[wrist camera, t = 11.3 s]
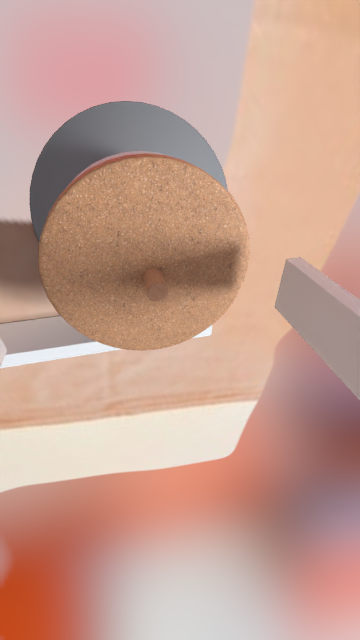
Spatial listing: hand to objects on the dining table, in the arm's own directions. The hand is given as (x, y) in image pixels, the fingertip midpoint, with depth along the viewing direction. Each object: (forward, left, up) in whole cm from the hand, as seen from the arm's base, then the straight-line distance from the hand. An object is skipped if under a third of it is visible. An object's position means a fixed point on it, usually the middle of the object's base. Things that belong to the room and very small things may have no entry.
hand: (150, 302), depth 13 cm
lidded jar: (0, 0, -10) cm, 10 cm away
